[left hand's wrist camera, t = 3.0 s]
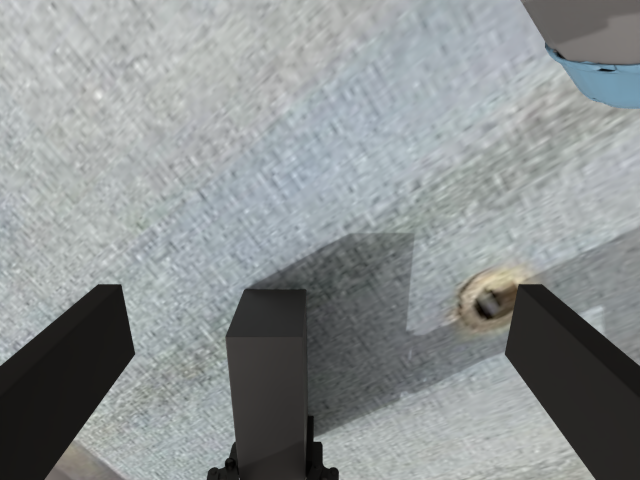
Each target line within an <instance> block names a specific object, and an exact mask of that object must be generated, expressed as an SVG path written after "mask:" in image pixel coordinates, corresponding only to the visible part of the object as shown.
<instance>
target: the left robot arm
mask: <svg viewBox="0 0 640 480" xmlns="http://www.w3.org/2000/svg"><path fill="white" fill-rule="evenodd" d="M521 2H522V3H523V5H524V7H525V8H526V10H527V12H528V13H529V15H530V17H531V18H532V20H533V22H534V23H535V25H536V27H537V28H538V30H539V32H540V33H541V35H542V37H543V38H544V40H545V48H546V50H547V52H548V53H549V55H550V56H551V57H552V58H553V59H554V60H555V61H557V62H559V63H561V65H562V66H563V67H564V69H565V70H566V72H567V73H568V75H569V76H570V77H571V79H572V80H573V82H574V83H575V85H576V86H577V87H578V89H579V90H580V91H581V92H582V93H583V94H584V95H585V96H586V97H588V98H589V99H591V100H593V101H597V102H602V103H604V104H607V105H609V106H612V107H617V108H631V109H640V0H521ZM134 355H135V351H134V346H133V341H132V336H131V331H130V326H129V321H128V316H127V311H126V306H125V301H124V296H123V291H122V286H121V284H98V285H97V286H96V287H94V288H93V289H92V290H91V291H90V292H88V293H87V294H86V295H85V296H84V297H82V298H81V299H80V300H79V301H78V302H76V303H75V304H74V305H73V306H72V307H70V308H69V309H68V310H67V311H66V312H64V313H63V314H62V315H61V316H60V317H58V318H57V319H56V320H55V321H54V322H52V323H51V324H50V325H49V326H48V327H47V328H45V329H44V330H43V331H42V332H41V333H39V334H38V335H37V336H36V337H35V338H33V339H32V340H31V341H30V342H29V343H27V344H26V345H25V346H24V347H23V348H21V349H20V350H19V351H18V352H17V353H15V354H14V355H13V356H12V357H11V358H9V359H8V360H7V361H6V362H5V363H3V364H2V365H1V366H0V480H44V479H45V478H46V477H47V475H48V474H49V472H50V471H51V470H52V468H53V467H54V466H55V464H56V463H57V461H58V460H59V459H60V457H61V456H62V455H63V453H64V452H65V450H66V449H67V448H68V446H69V445H70V443H71V442H72V441H73V439H74V438H75V437H76V435H77V434H78V432H79V431H80V430H81V428H82V427H83V426H84V424H85V423H86V421H87V420H88V419H89V417H90V416H91V414H92V413H93V412H94V410H95V409H96V408H97V406H98V405H99V403H100V402H101V401H102V399H103V398H104V397H105V395H106V394H107V392H108V391H109V390H110V388H111V387H112V385H113V384H114V383H115V381H116V380H117V379H118V377H119V376H120V374H121V373H122V372H123V370H124V369H125V368H126V366H127V365H128V363H129V362H130V361H131V359H132V358H133V356H134ZM505 355H506V356H507V358H508V359H509V361H510V362H511V363H512V365H513V366H514V368H515V369H516V370H517V372H518V373H519V374H520V376H521V377H522V379H523V380H524V381H525V383H526V384H527V385H528V387H529V388H530V390H531V391H532V392H533V394H534V395H535V397H536V398H537V399H538V401H539V402H540V403H541V405H542V406H543V408H544V409H545V410H546V412H547V413H548V414H549V416H550V417H551V419H552V420H553V421H554V423H555V424H556V426H557V427H558V428H559V430H560V431H561V432H562V434H563V435H564V437H565V438H566V439H567V441H568V442H569V443H570V445H571V446H572V448H573V449H574V450H575V452H576V453H577V455H578V456H579V457H580V459H581V460H582V461H583V463H584V464H585V466H586V467H587V468H588V470H589V471H590V472H591V474H592V475H593V477H594V478H595V479H596V480H640V366H639V365H638V364H637V363H635V362H634V361H633V360H632V359H631V358H629V357H628V356H627V355H626V354H625V353H623V352H622V351H621V350H620V349H619V348H617V347H616V346H615V345H614V344H613V343H611V342H610V341H609V340H608V339H607V338H605V337H604V336H603V335H602V334H601V333H599V332H598V331H597V330H596V329H595V328H593V327H592V326H591V325H590V324H589V323H588V322H586V321H585V320H584V319H583V318H582V317H580V316H579V315H578V314H577V313H576V312H574V311H573V310H572V309H571V308H570V307H568V306H567V305H566V304H565V303H564V302H562V301H561V300H560V299H559V298H558V297H556V296H555V295H554V294H553V293H552V292H550V291H549V290H548V289H547V288H546V287H544V286H543V285H542V284H519V286H518V291H517V296H516V301H515V306H514V311H513V316H512V321H511V326H510V331H509V336H508V341H507V346H506V351H505Z"/></svg>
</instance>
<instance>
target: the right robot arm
mask: <svg viewBox="0 0 640 480" xmlns="http://www.w3.org/2000/svg"><path fill="white" fill-rule="evenodd" d="M313 436H314V421H313V416H308V422H307V447H306V480H339V471H338V469H337V468H335V467H332V468H330V469H328V468H326V467H324V465H323V445H322V443H321V442H313ZM238 475H239V468H238V458H237V448H236V442H234V444H233V445H232V448H231V453H230V456H229V458H228V459H226V461H225V467H224V468H221V469H218V468H216V467H214V468H211V469H210V470H209V471H208V475H207V480H239V476H238Z"/></svg>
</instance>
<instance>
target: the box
mask: <svg viewBox="0 0 640 480" xmlns="http://www.w3.org/2000/svg"><path fill="white" fill-rule="evenodd" d="M225 338H226V348H227V358H228V368H229V378H230V388H231V398H232V408H233V418H234V428H235V438H236V448H237V458H238V468H239V478H240V480H306V447H307V422H308V390H307V316H306V290H244V292H243V294H242V297H241V299H240V302H239V304H238V307H237V309H236V312H235V314H234V317H233V319H232V322H231V324H230V327H229V329H228V332H227V334H226V337H225Z"/></svg>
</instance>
